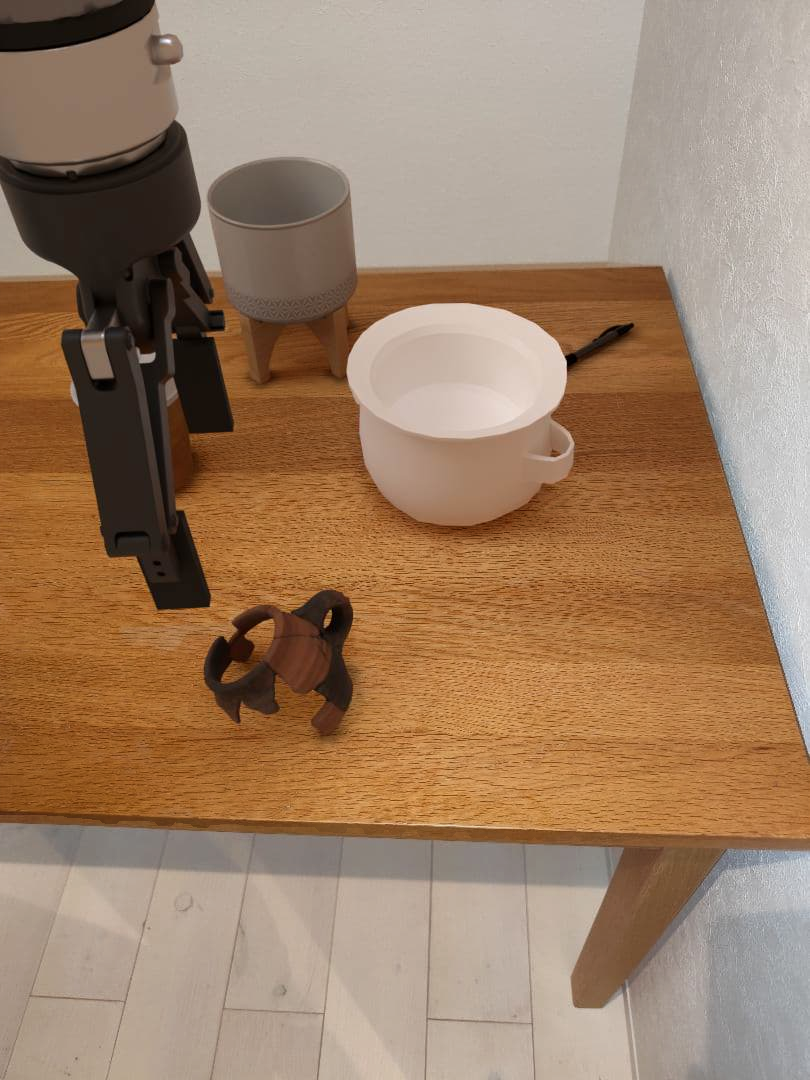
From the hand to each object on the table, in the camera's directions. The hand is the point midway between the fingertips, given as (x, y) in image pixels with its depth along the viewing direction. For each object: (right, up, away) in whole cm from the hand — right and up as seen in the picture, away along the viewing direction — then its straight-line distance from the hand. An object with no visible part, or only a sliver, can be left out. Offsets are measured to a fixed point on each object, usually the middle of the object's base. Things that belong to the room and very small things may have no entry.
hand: (199, 508), depth 51 cm
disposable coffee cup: (-11, +4, +32) cm, 34 cm away
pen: (+30, +17, +41) cm, 54 cm away
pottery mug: (+4, -13, +16) cm, 21 cm away
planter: (+1, +18, +43) cm, 47 cm away
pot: (+16, +4, +30) cm, 35 cm away
